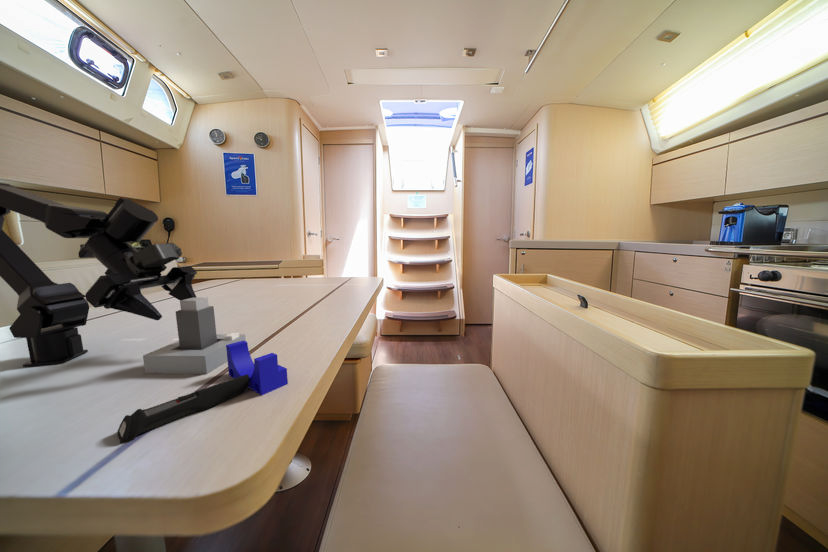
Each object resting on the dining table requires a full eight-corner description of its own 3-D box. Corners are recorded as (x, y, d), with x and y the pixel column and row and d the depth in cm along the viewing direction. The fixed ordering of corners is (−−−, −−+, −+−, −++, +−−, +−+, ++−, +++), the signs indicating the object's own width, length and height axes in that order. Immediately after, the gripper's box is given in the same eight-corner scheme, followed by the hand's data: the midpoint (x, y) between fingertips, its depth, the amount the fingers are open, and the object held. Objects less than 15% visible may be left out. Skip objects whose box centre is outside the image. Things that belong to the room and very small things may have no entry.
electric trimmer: (254, 395, 47) (253, 376, 47) (121, 447, 35) (118, 423, 35) (244, 388, 50) (243, 370, 49) (116, 435, 37) (113, 412, 37)
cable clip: (287, 385, 50) (285, 351, 49) (261, 396, 46) (258, 361, 45) (254, 367, 57) (251, 338, 56) (229, 376, 53) (226, 345, 52)
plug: (181, 364, 58) (174, 301, 56) (198, 355, 62) (192, 296, 60) (203, 364, 58) (196, 301, 56) (218, 355, 62) (212, 296, 60)
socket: (145, 373, 54) (142, 351, 54) (195, 348, 66) (193, 330, 66) (206, 373, 54) (204, 351, 53) (246, 349, 66) (244, 331, 65)
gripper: (91, 227, 48) (163, 294, 49) (184, 230, 66) (235, 278, 67) (53, 274, 49) (124, 338, 50) (155, 264, 67) (205, 311, 68)
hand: (180, 312), depth 59 cm, fingers open, 9 cm apart
